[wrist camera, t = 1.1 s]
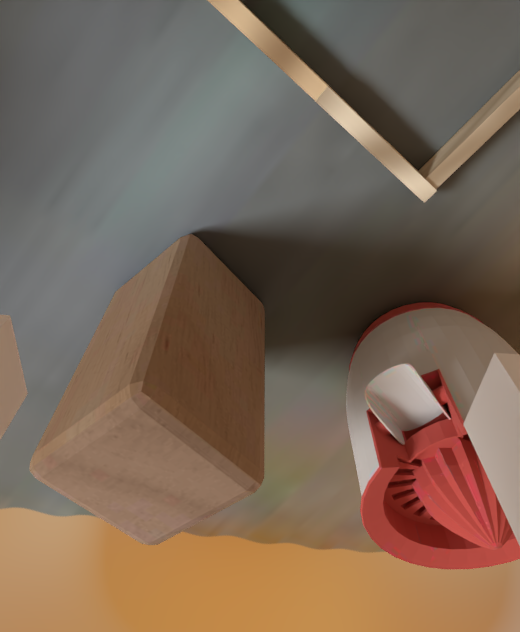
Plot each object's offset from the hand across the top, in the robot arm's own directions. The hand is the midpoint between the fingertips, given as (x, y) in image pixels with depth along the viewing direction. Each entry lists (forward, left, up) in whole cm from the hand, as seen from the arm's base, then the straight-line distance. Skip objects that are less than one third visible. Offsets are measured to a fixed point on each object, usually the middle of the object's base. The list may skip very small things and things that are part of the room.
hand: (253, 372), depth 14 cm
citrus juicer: (+23, -6, -27) cm, 36 cm away
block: (+4, -15, -27) cm, 31 cm away
